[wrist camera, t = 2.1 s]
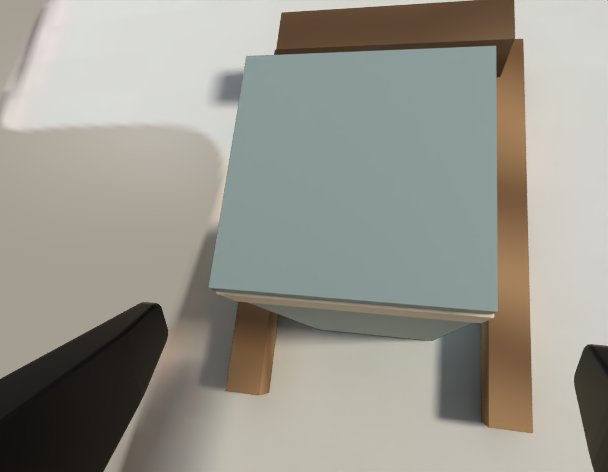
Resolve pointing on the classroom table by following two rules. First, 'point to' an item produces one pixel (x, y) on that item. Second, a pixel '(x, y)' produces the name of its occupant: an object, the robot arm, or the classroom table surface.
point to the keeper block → (364, 191)
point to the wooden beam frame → (510, 185)
